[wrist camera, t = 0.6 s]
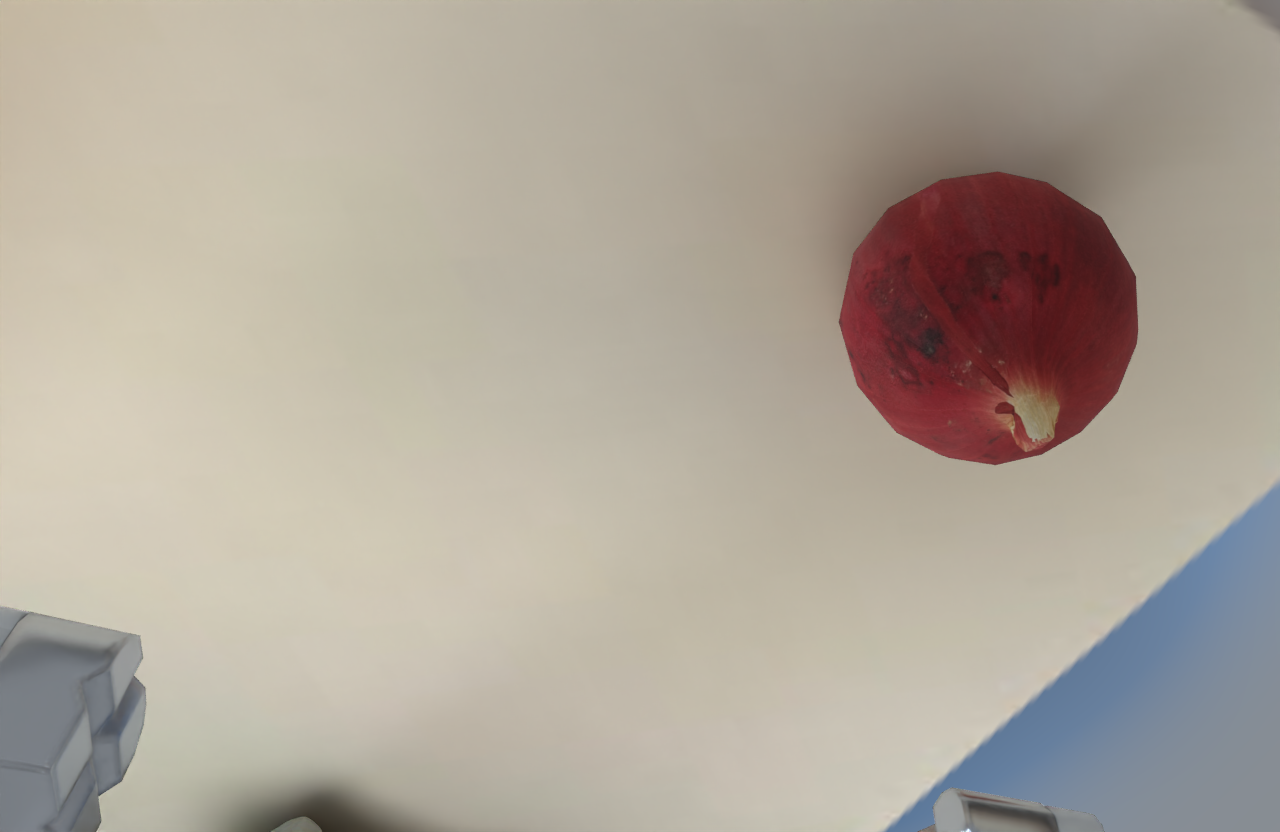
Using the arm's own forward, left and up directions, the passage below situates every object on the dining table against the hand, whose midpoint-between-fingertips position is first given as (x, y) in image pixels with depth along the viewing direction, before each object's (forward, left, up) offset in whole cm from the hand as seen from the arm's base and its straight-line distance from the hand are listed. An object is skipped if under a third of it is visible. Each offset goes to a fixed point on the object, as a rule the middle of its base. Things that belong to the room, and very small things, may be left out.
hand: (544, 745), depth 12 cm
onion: (-1, +7, -18) cm, 19 cm away
